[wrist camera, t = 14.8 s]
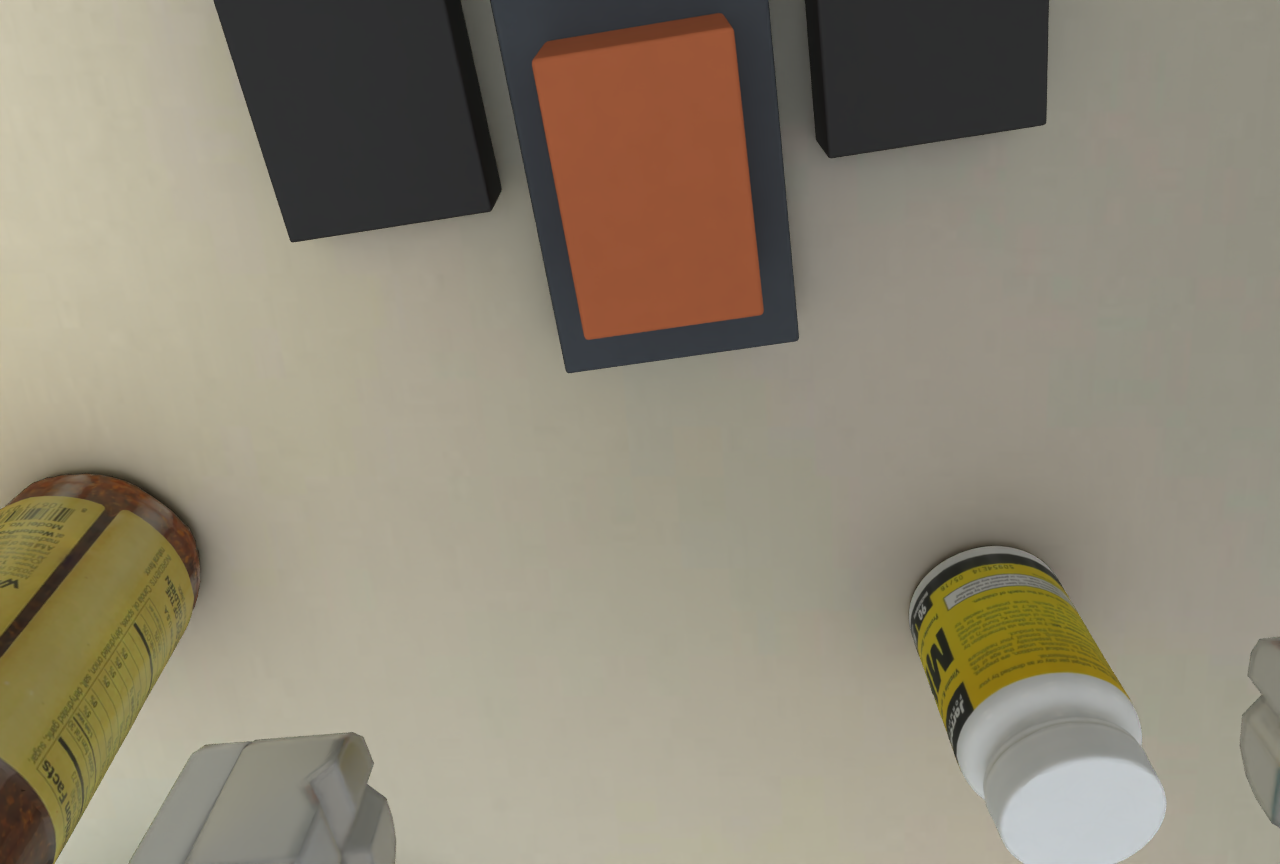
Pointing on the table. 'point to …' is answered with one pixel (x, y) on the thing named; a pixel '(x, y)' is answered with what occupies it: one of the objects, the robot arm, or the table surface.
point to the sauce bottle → (80, 643)
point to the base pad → (456, 123)
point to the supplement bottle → (1034, 710)
